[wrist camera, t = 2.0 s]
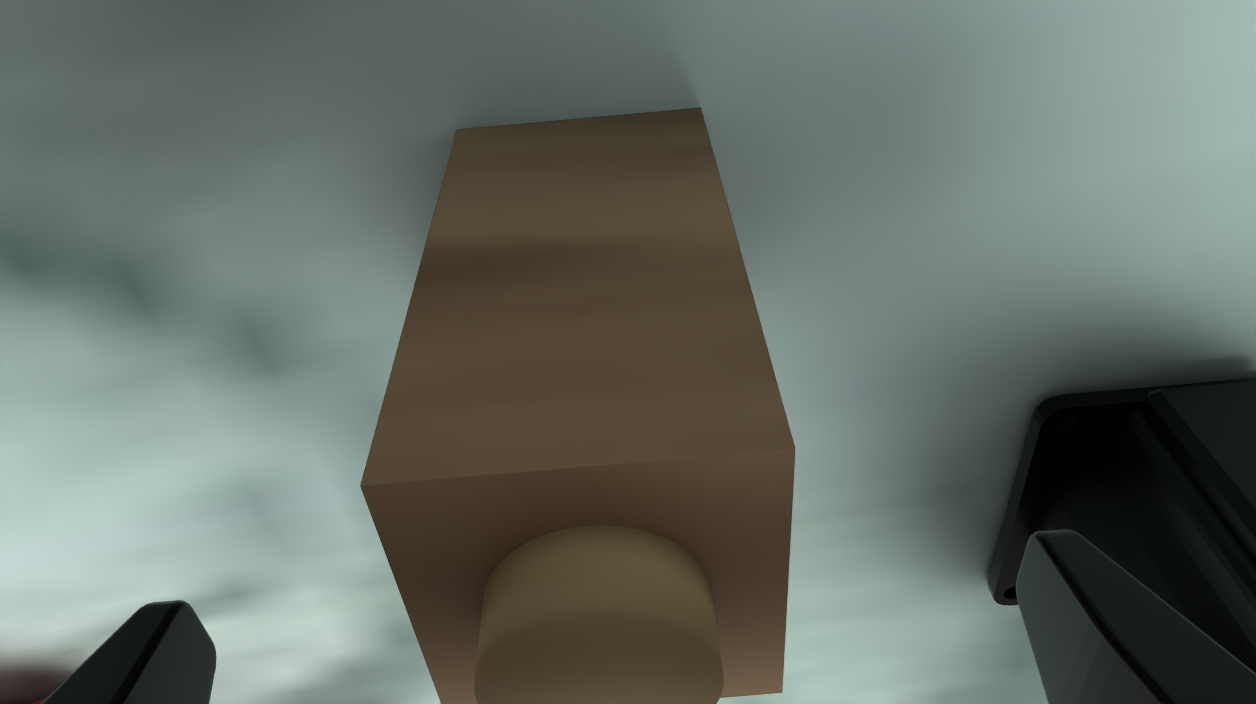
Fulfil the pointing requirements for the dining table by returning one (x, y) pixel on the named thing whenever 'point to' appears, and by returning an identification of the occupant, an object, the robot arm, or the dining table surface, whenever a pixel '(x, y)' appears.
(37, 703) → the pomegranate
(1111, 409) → the robot arm
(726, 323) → the walnut plug
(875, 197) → the dining table surface
